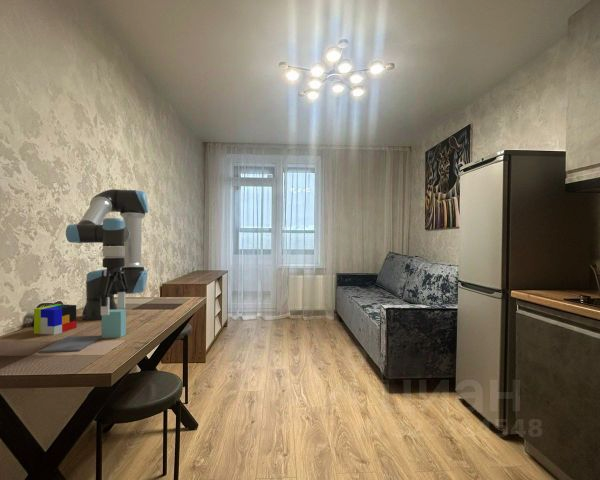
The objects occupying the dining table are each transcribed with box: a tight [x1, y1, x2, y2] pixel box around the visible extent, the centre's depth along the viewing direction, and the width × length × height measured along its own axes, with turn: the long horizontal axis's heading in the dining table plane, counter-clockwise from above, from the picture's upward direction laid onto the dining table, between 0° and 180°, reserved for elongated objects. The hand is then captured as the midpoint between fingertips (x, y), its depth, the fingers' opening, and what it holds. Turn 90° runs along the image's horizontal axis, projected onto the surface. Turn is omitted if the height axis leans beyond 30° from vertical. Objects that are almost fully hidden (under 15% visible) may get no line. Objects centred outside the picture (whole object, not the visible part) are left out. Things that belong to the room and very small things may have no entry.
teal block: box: [101, 308, 127, 339], centre depth 125 cm, size 4×7×10 cm, turn 96°
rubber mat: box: [37, 334, 103, 354], centre depth 115 cm, size 16×13×1 cm
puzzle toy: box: [33, 303, 77, 336], centre depth 133 cm, size 10×10×10 cm
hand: (113, 311), depth 125 cm, fingers open, 13 cm apart
